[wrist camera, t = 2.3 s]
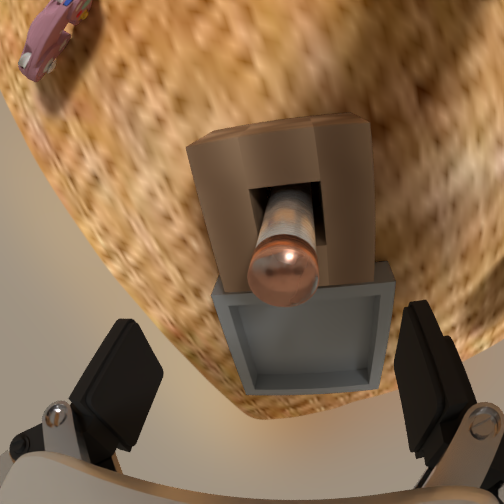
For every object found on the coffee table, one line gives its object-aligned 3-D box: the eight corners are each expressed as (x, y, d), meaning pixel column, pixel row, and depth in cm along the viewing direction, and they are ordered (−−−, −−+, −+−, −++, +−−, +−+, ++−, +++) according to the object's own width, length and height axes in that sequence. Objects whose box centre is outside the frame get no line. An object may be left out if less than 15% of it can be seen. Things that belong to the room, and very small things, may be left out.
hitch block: (351, 112, 19) (370, 122, 14) (359, 237, 24) (373, 281, 19) (213, 130, 21) (185, 147, 16) (240, 248, 26) (225, 292, 21)
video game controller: (62, 72, 21) (33, 97, 16) (28, 55, 18) (-7, 77, 13) (120, -14, 16) (100, -16, 12) (82, -32, 13) (53, -36, 9)
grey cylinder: (308, 164, 21) (316, 245, 11) (313, 200, 23) (321, 304, 13) (269, 168, 22) (240, 252, 12) (275, 204, 23) (254, 309, 13)
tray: (387, 260, 24) (395, 281, 22) (375, 368, 32) (378, 388, 29) (219, 274, 28) (211, 295, 25) (250, 375, 35) (246, 394, 32)
